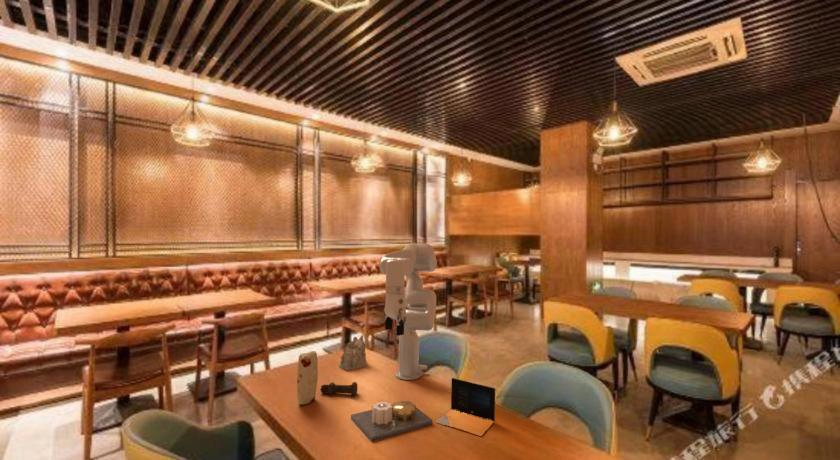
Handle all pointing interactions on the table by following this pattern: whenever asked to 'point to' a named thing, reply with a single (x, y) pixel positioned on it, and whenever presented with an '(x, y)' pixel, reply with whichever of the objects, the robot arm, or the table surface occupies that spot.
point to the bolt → (340, 389)
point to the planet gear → (382, 413)
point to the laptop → (471, 400)
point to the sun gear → (403, 410)
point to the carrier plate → (389, 424)
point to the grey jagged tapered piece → (354, 355)
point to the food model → (307, 377)
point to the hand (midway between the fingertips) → (394, 332)
